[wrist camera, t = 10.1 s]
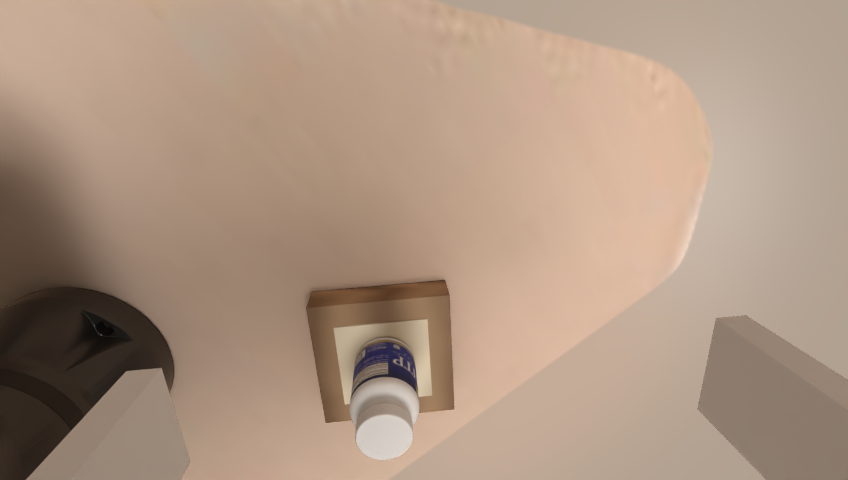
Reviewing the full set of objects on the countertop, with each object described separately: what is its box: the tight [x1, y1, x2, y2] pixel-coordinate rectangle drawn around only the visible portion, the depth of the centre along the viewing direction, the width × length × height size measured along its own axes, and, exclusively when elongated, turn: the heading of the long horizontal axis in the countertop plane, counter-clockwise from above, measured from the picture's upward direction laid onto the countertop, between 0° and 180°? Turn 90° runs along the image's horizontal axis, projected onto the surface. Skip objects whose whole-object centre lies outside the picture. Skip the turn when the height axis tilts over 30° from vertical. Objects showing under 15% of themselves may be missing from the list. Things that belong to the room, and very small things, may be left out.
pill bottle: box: [350, 337, 419, 460], centre depth 33 cm, size 5×5×9 cm
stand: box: [306, 280, 454, 423], centre depth 39 cm, size 12×12×3 cm
